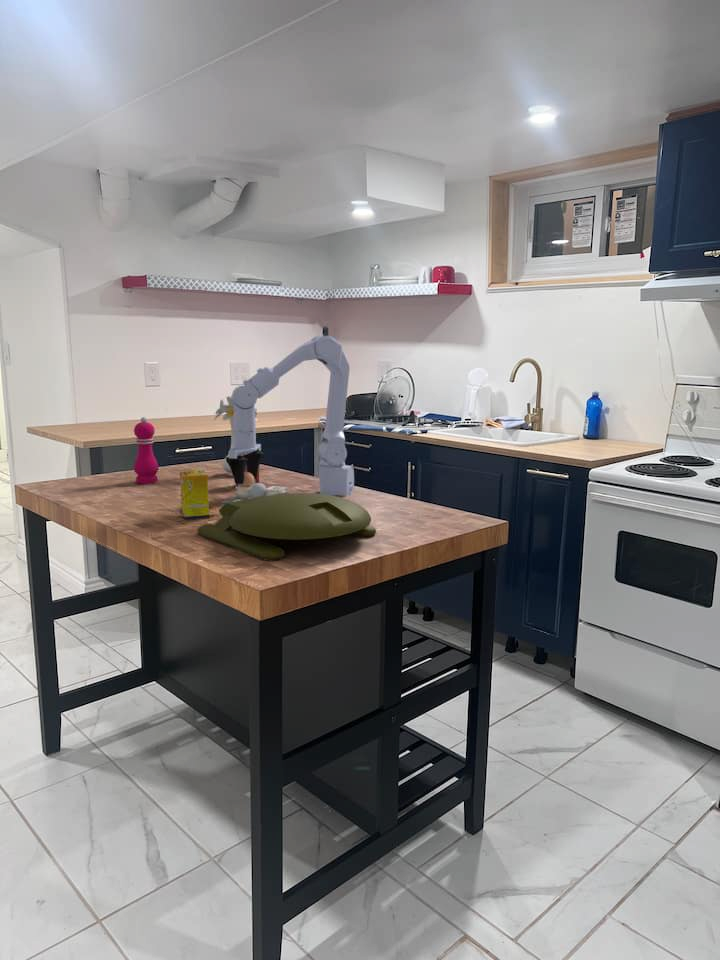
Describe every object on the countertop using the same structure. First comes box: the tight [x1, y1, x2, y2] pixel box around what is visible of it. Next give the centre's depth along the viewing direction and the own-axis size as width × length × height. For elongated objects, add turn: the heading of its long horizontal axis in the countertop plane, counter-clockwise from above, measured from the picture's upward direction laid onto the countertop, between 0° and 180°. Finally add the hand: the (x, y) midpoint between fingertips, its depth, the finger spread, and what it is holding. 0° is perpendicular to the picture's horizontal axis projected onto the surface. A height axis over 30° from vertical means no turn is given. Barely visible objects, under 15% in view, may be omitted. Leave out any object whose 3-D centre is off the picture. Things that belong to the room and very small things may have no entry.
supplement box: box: [179, 470, 210, 520], centre depth 172 cm, size 6×6×11 cm
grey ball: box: [250, 482, 267, 498], centre depth 187 cm, size 4×4×4 cm
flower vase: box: [213, 395, 259, 477], centre depth 225 cm, size 13×18×25 cm
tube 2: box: [266, 485, 288, 496], centre depth 187 cm, size 5×5×3 cm
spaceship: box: [196, 491, 377, 561], centre depth 155 cm, size 35×31×10 cm
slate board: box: [219, 494, 267, 504], centre depth 188 cm, size 16×14×2 cm
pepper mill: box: [133, 416, 160, 485], centre depth 213 cm, size 7×7×20 cm
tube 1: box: [235, 485, 253, 499], centre depth 190 cm, size 5×5×3 cm
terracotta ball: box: [239, 472, 254, 487], centre depth 189 cm, size 4×4×4 cm
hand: (246, 481), depth 190 cm, fingers open, 7 cm apart
